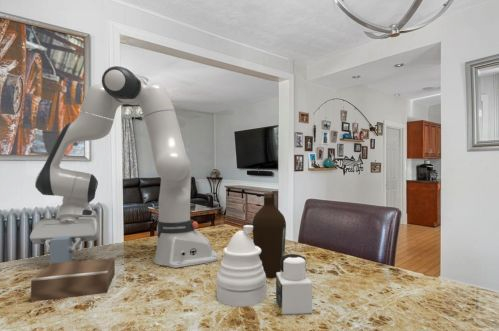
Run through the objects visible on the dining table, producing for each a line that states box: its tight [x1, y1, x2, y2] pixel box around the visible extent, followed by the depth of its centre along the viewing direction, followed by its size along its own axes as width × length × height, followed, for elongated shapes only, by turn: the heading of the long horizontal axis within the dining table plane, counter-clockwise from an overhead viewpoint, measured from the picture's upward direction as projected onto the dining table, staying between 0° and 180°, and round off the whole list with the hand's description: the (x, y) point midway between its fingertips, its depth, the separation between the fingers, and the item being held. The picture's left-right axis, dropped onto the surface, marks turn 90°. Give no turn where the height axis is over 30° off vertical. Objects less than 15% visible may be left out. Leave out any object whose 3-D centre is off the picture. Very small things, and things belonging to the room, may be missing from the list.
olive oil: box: [251, 192, 287, 278], centre depth 91 cm, size 11×11×25 cm
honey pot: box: [216, 224, 267, 308], centre depth 75 cm, size 13×13×18 cm
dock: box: [30, 257, 116, 302], centre depth 80 cm, size 17×14×5 cm
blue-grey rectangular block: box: [49, 236, 73, 265], centre depth 95 cm, size 5×5×10 cm
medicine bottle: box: [275, 253, 313, 315], centre depth 68 cm, size 7×7×12 cm
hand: (60, 252), depth 94 cm, fingers closed on blue-grey rectangular block, 5 cm apart
